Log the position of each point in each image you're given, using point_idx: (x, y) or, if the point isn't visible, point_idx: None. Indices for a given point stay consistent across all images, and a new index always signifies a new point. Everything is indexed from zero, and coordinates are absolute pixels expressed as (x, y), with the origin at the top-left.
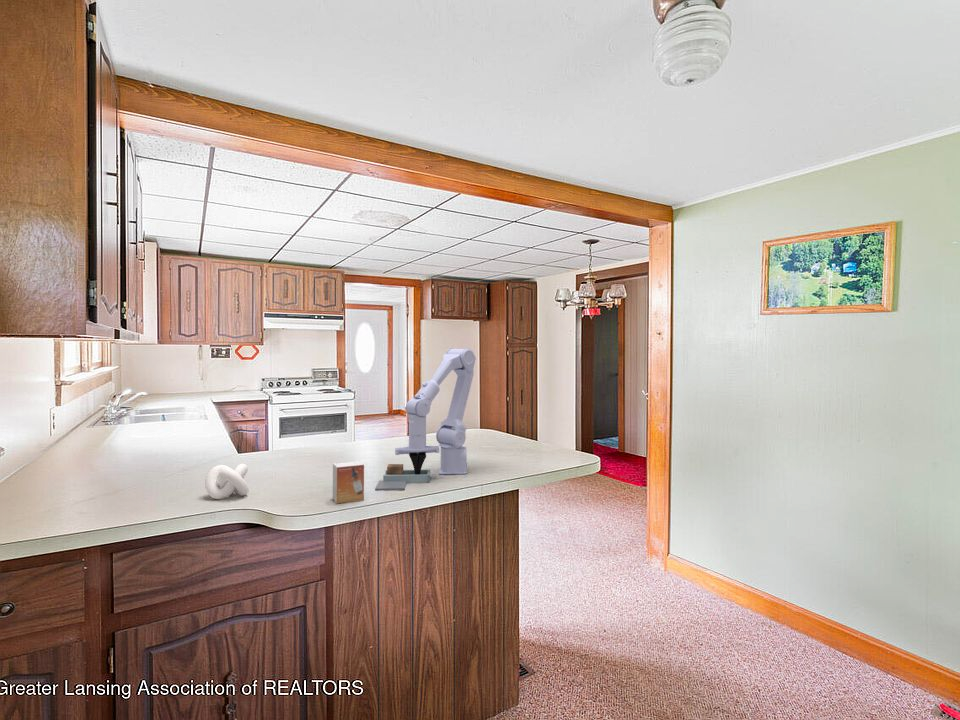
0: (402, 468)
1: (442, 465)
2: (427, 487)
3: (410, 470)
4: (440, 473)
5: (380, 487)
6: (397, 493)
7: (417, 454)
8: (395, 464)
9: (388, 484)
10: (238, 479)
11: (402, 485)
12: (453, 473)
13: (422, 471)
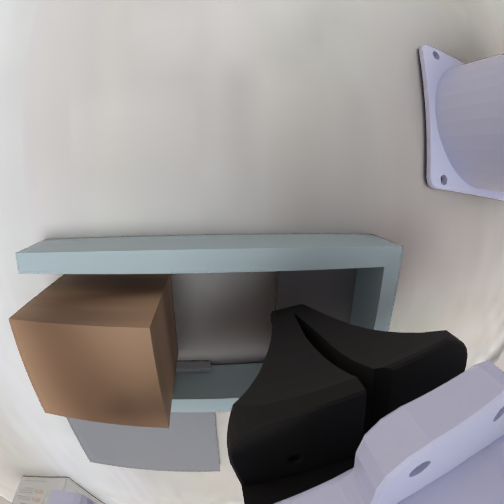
0: (168, 406)
1: (475, 153)
2: None
3: (229, 270)
4: (434, 187)
5: (104, 456)
6: (197, 485)
7: (370, 422)
8: (71, 342)
9: (121, 428)
10: None
11: (202, 445)
12: (482, 196)
13: (338, 266)
